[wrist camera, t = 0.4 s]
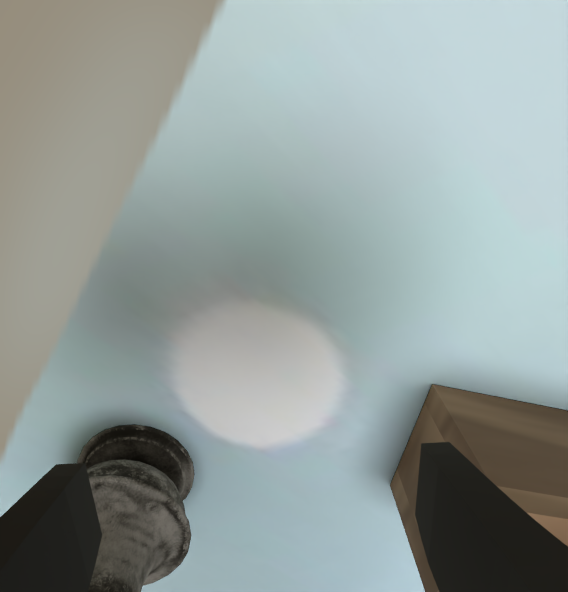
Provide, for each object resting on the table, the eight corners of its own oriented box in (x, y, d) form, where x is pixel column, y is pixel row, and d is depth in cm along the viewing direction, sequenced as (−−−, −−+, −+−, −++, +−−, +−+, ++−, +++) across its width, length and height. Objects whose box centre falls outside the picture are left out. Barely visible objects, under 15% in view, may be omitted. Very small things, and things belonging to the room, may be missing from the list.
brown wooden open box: (548, 511, 25) (650, 659, 18) (390, 485, 24) (439, 633, 17) (602, 417, 23) (740, 547, 16) (432, 384, 21) (506, 509, 15)
